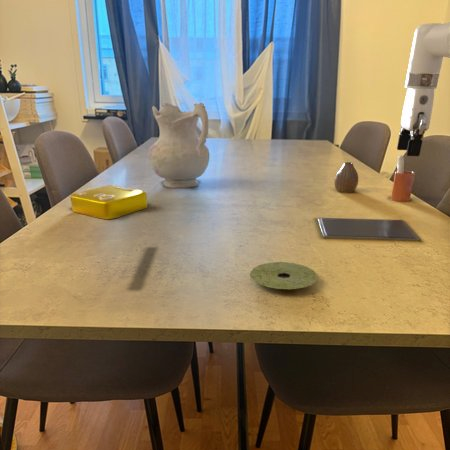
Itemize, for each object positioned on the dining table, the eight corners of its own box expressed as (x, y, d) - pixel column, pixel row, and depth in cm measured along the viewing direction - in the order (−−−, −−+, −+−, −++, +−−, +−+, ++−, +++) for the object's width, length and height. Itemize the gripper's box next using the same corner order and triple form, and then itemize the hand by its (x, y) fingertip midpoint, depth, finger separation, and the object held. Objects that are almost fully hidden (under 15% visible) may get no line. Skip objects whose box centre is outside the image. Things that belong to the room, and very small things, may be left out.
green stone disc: (246, 297, 69) (246, 286, 68) (253, 269, 79) (253, 259, 78) (317, 302, 67) (318, 290, 67) (315, 273, 77) (316, 263, 76)
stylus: (402, 198, 123) (403, 154, 117) (403, 199, 121) (404, 155, 116) (396, 198, 123) (397, 155, 118) (397, 200, 121) (398, 156, 116)
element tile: (150, 207, 117) (149, 189, 115) (108, 220, 106) (106, 201, 104) (112, 199, 125) (110, 182, 122) (69, 211, 114) (66, 193, 111)
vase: (357, 195, 128) (362, 165, 124) (334, 194, 129) (337, 164, 125) (355, 190, 134) (359, 161, 130) (332, 189, 135) (335, 160, 131)
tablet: (401, 224, 103) (402, 219, 103) (419, 244, 91) (420, 239, 90) (317, 221, 105) (317, 217, 105) (323, 240, 93) (323, 236, 92)
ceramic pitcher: (225, 185, 145) (227, 104, 135) (198, 193, 129) (198, 102, 119) (170, 180, 153) (168, 103, 143) (137, 187, 137) (133, 101, 127)
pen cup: (406, 199, 124) (411, 170, 121) (411, 203, 120) (417, 174, 116) (388, 198, 125) (393, 170, 121) (392, 203, 120) (398, 174, 117)
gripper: (449, 82, 101) (432, 158, 109) (426, 81, 116) (412, 148, 124) (416, 82, 101) (401, 158, 109) (397, 81, 116) (385, 147, 124)
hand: (407, 152), depth 116 cm, fingers open, 9 cm apart
